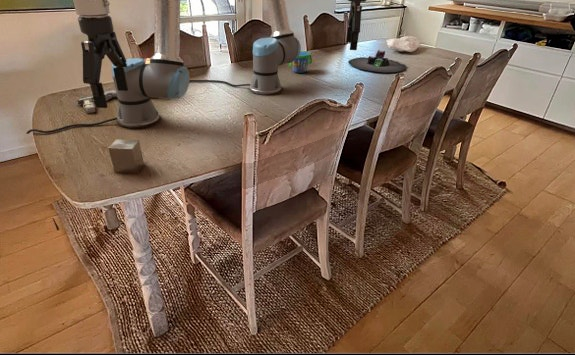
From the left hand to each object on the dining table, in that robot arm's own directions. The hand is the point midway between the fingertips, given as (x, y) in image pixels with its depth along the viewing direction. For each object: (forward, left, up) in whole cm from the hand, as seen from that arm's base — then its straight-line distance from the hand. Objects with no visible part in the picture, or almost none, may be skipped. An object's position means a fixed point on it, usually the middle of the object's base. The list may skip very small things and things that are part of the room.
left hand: (113, 98), depth 101 cm
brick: (0, 0, -23) cm, 23 cm away
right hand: (+74, +65, +2) cm, 98 cm away
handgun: (-32, +51, -23) cm, 64 cm away
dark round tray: (+101, +130, -23) cm, 166 cm away
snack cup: (+54, +110, -23) cm, 125 cm away
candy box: (-14, +64, -23) cm, 69 cm away
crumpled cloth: (+127, +173, -23) cm, 215 cm away
